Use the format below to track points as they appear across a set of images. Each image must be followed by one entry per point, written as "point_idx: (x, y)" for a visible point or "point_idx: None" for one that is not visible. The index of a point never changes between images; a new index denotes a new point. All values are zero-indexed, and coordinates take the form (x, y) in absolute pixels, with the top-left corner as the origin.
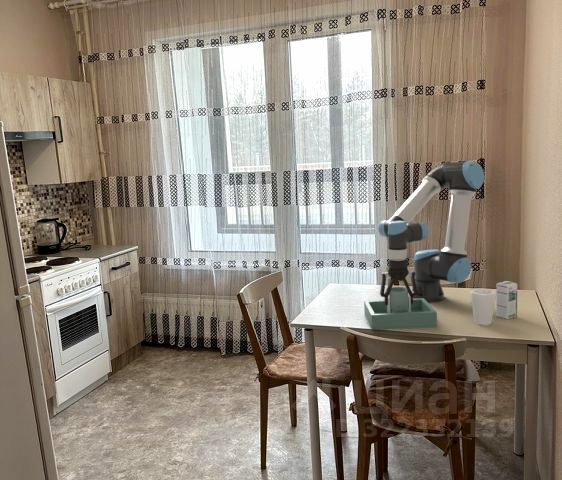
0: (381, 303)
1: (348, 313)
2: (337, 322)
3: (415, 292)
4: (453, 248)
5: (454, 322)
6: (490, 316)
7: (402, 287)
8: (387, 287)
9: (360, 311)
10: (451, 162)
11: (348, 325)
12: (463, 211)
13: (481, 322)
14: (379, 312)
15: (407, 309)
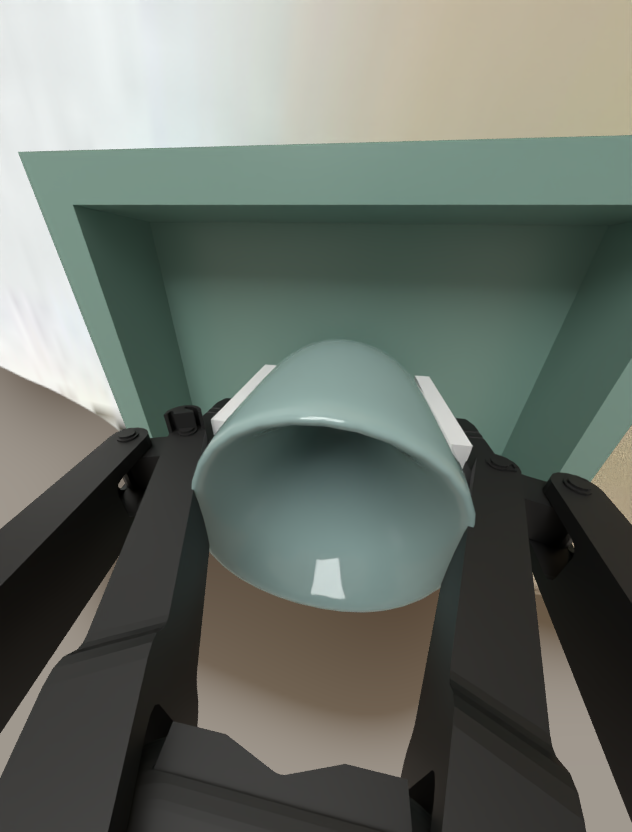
0: (216, 208)
1: (14, 142)
2: (27, 338)
3: (541, 554)
4: None
5: (629, 471)
6: None
7: (431, 466)
8: (142, 518)
9: (86, 83)
10: None
11: (94, 392)
12: None
13: None
14: (229, 257)
15: (416, 379)
